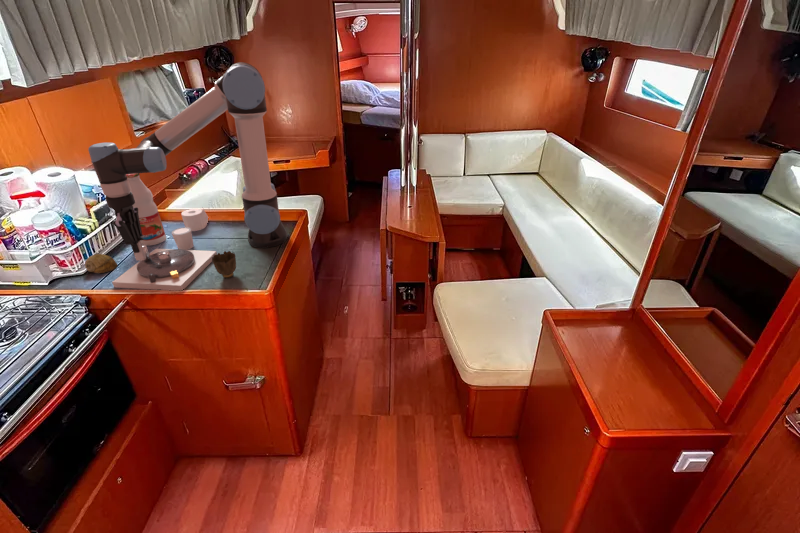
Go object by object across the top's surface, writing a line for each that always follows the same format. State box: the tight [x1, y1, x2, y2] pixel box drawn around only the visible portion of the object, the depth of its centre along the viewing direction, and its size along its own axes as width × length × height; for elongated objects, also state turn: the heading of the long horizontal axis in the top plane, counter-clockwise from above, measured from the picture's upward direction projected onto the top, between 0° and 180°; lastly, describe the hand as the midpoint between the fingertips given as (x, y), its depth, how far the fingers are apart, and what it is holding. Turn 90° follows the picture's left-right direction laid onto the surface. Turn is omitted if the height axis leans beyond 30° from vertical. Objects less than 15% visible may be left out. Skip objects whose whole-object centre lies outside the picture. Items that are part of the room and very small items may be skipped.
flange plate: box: [137, 245, 195, 279], centre depth 146 cm, size 18×20×7 cm
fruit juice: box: [126, 173, 167, 247], centre depth 163 cm, size 9×9×28 cm
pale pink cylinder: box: [171, 226, 195, 250], centre depth 164 cm, size 7×7×7 cm
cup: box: [212, 250, 237, 279], centre depth 143 cm, size 8×7×8 cm
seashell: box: [84, 253, 119, 274], centre depth 150 cm, size 10×7×8 cm
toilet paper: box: [180, 206, 209, 232], centre depth 181 cm, size 8×11×7 cm
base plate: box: [111, 248, 218, 291], centre depth 148 cm, size 24×24×5 cm
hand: (141, 259), depth 145 cm, fingers closed
